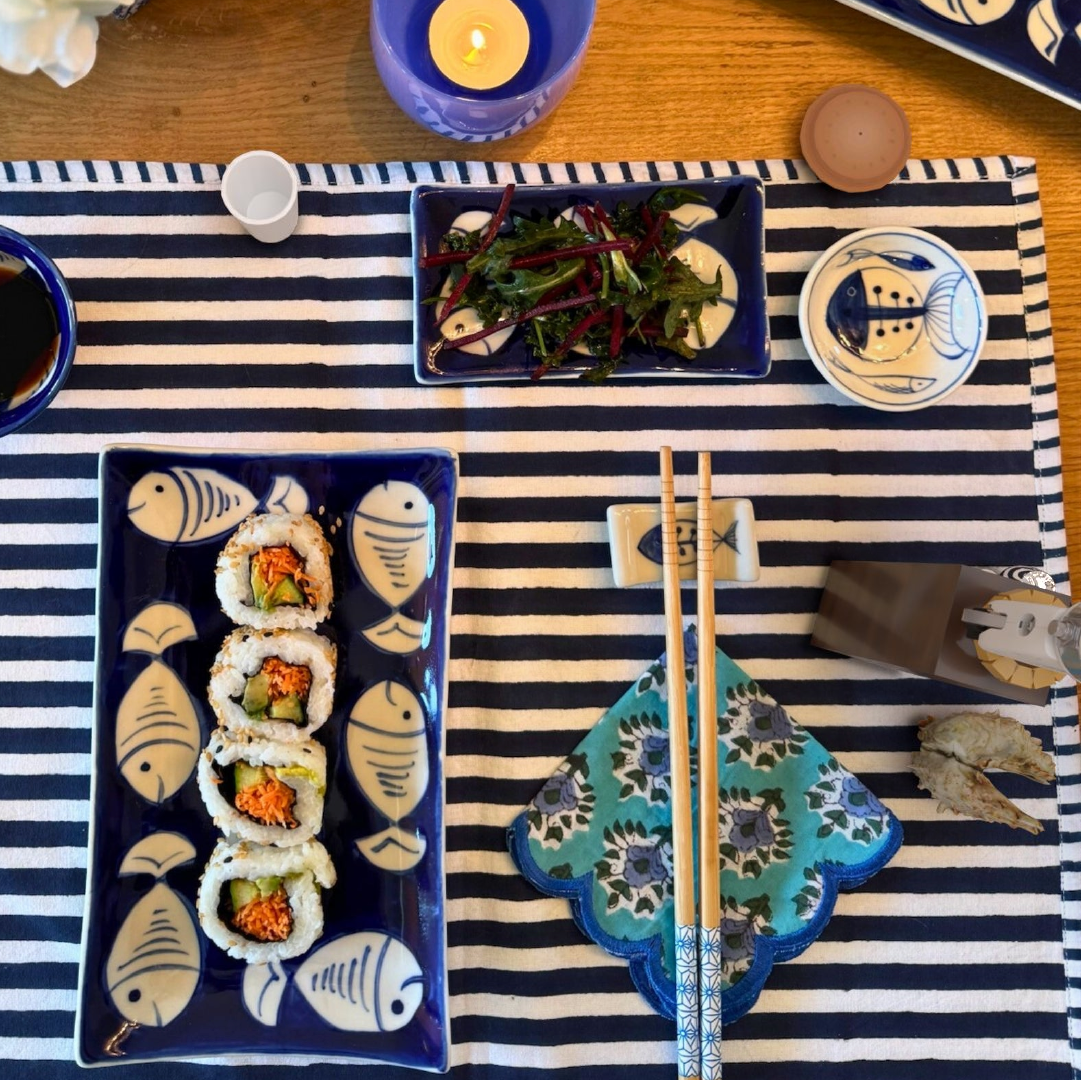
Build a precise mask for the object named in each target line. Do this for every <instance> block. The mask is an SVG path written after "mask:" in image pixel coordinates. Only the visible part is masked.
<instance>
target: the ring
mask: <svg viewBox="0 0 1081 1080" xmlns="http://www.w3.org/2000/svg"><path fill="white" fill-rule="evenodd" d="M998 595H999V596H994V597H993V598H992V599H991V600H990V601H989V602H988V603H987V604H986V605H985V606H984V607H983V608H986V609H991V608H990V606H989V605H988V604H989V603H990V602H992V601H995V600H1008V601H1019V602H1028V603H1037V604H1045V605H1053V606H1060V607H1066V606H1065V605H1064V604H1063V603H1062V602H1061V601H1060V599H1059V598H1054V595H1050V594H1047V593H1043V592H1040V591H1037V590H1031V589H1015V590H1011V591H1007V592H1003V593H999V594H998ZM974 643H975V647H976V651H977V654H978V658H979V659H982V660H983V661H982V662H981V663H982V664H983V665H984V666H985V667H986V668H987V669H988V670H989V672H990V673H991V674H992V675H993V676H994V677H995V678H998V679H999V680H1000V681H1003V682H1006V683H1010V684H1013V685H1017V686H1020V687H1024V688H1029V689H1031V688H1033V689H1038V688H1042V687H1046V686H1050V687H1051V686H1054V685H1056V684H1057V683H1058V682H1061V681H1062V680H1063V679H1064V678H1065V677H1066V676H1068V675H1067V674H1062V673H1058V672H1055V671H1051V670H1048V669H1044V668H1041V667H1037V666H1034V665H1026V666H1022V665H1019V664H1017V663H1016V662H1015V661H1014V660H1013V659H1010V658H1007V657H1004V656H1000V655H997V654H994V653H991V652H988V651H985V650H983V649H982V648H981V647H980V646H979V644H978V640H974ZM1056 682H1057V683H1056Z"/></svg>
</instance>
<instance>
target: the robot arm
mask: <svg viewBox="0 0 1081 1080" xmlns="http://www.w3.org/2000/svg"><path fill="white" fill-rule="evenodd" d="M988 605H989V606H990V608H991V609H986V608H977V607H974V608H973V610H971V609H966V608H964V611H963V615H962V619H961V621H964V622H966V628H967V633H966V637H967V638H969V639H973V640H978V644H979V646H980V647H981V648H982V649H983V650H985V651H988V652H991V653H994V654H997V655H1000V656H1004V657H1007V658H1010V659H1014V660H1017V661H1020V662H1024V663H1027V664H1030V665H1034V666H1037V667H1041V668H1044V669H1048V670H1051V671H1055V672H1058V673H1062V674H1067V675H1066V676H1069V677H1070V678H1072V680H1074V681H1075V682H1077V683H1079V684H1081V601H1079V602H1076V603H1074V604H1073V605H1072V606H1071V605H1070V607H1069V608H1068V607H1060V606H1053V605H1045V604H1037V603H1028V602H1019V601H1008V600H995V601H992V602H990V603H989V604H988Z"/></svg>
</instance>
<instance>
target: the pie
mask: <svg viewBox="0 0 1081 1080" xmlns="http://www.w3.org/2000/svg"><path fill="white" fill-rule="evenodd" d="M910 125H911V124H910V121H909V119H908V117H907V115H906V113H905V110H904V108H903V107H902V106H901V105H900V104H899V103H898V102H896V101H895V99H893V98H892V97H890V96H889V95H888V94H886V93H885V92H883V91H881V90H880V89H878V88H875V87H872V86H868V85H865V84H860V83H858V84H857V83H842V84H840V85H836V86H833V87H830V88H828V89H827V90H825V91H824V92H823V93H821V94H820V95H818V96H817V97H816V98H815V99H814V101H813V102H811V104H810V105H809V106H808V108H807V109H806V112H805V114H804V117H803V119H802V122H801V127H800V133H799V142H800V149H801V154H802V156H803V157H804V159H805V161H806V163H807V164H808V167H809V168H810V169H811V170H812V172H813V173H814V174H815V176H816V177H817V178H818V179H819V180H820V181H822V182H823V183H825V184H826V185H828V186H830V187H832V188H833V189H836V190H840V191H843V192H846V193H849V194H850V193H865V192H871V191H874V190H879V189H882V188H883V187H885V186H886V185H889V183H891V182H892V181H894V180H895V179H896V178H897V176H898V175H899V174H900V173H901V172H902V171H903V169H904V168H905V166H906V164H907V162H908V159H909V157H910V155H911V151H912V141H913V138H912V130H911V126H910Z"/></svg>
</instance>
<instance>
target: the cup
mask: <svg viewBox="0 0 1081 1080" xmlns="http://www.w3.org/2000/svg"><path fill="white" fill-rule="evenodd" d="M220 192H221V193H220V195H221V198H222V200H223V201H222V202H223V203H224V205H225V207H226V208H227V210H228V211H229V212H230V214H231V215H232V216H233V217H234V218H235V219H236V220H237V221H238V223H239V224H241V225H242V227H243V228H244V229H245V230H246V231H247V232H248V233H249V234H250V235H251V236H252V237H253V238H254V239H256V240H257V241H260V242H261V243H268V244H269V243H270V244H271V243H272V244H277V243H280V242H282V241H284V240H286V239H287V238H289V237H290V236H291V235H292V234H293V233H294V231H295V230H296V227H297V225H298V221H299V198H298V195H299V194H298V178H297V176H296V174H295V171H294V169H293V168H292V166H291V165H290V163H289V162H288V161H287V160H285V159H284V157H282V156H280V155H279V154H276V153H275V152H273V151H271V150H270V151H268V150H263V149H261V150H260V149H259V150H250V151H248V152H245V153H242V154H240V155H238V156H236V157H235V158H234V159H233V160H232V161H231V162H230V164H229V165H227V167H226V169H225V171H224V173H223V175H222V179H221V183H220Z"/></svg>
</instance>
